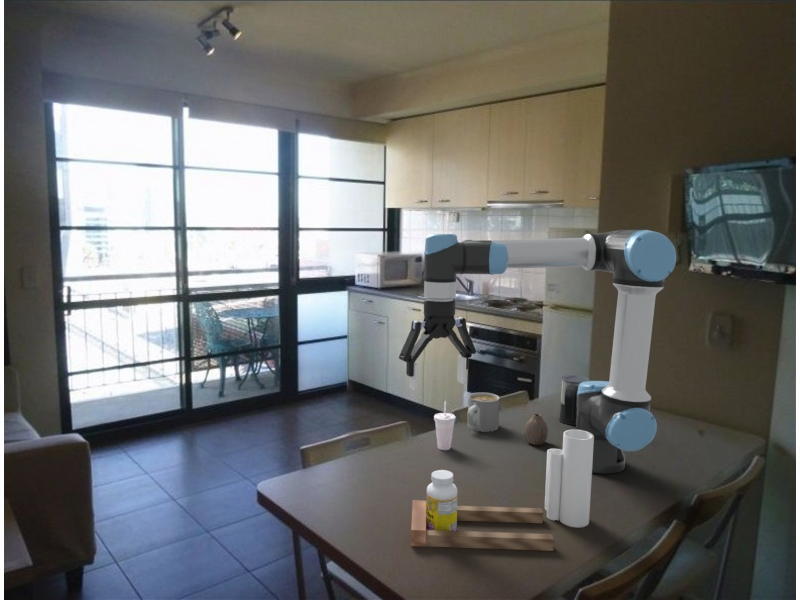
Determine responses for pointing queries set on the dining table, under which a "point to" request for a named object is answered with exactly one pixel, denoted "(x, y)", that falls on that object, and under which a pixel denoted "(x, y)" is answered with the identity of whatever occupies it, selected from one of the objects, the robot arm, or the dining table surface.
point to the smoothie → (444, 428)
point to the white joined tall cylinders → (570, 479)
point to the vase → (536, 430)
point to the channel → (481, 538)
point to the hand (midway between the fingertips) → (437, 386)
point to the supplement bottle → (441, 502)
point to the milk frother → (570, 398)
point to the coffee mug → (483, 412)
